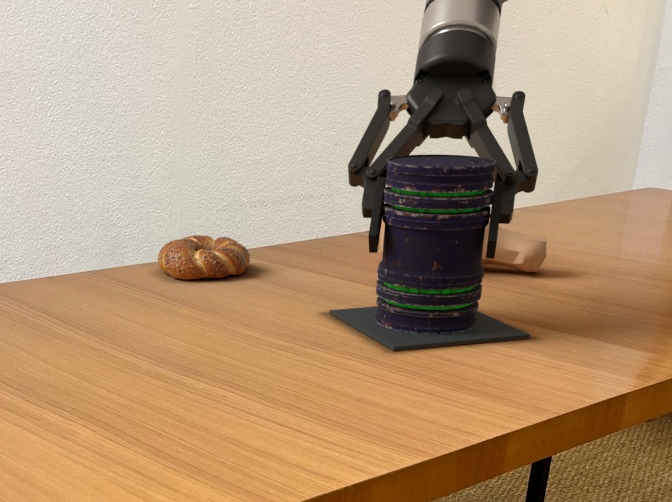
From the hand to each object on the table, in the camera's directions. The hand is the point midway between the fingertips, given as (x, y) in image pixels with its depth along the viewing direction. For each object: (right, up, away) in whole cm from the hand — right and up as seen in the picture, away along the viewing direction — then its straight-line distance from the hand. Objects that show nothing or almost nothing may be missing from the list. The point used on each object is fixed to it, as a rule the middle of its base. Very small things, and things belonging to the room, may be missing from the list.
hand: (431, 247), depth 96 cm
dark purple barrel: (+1, -6, +6) cm, 9 cm away
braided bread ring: (-20, +4, +29) cm, 35 cm away
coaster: (+1, -6, +6) cm, 9 cm away
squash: (+11, +5, +30) cm, 33 cm away
